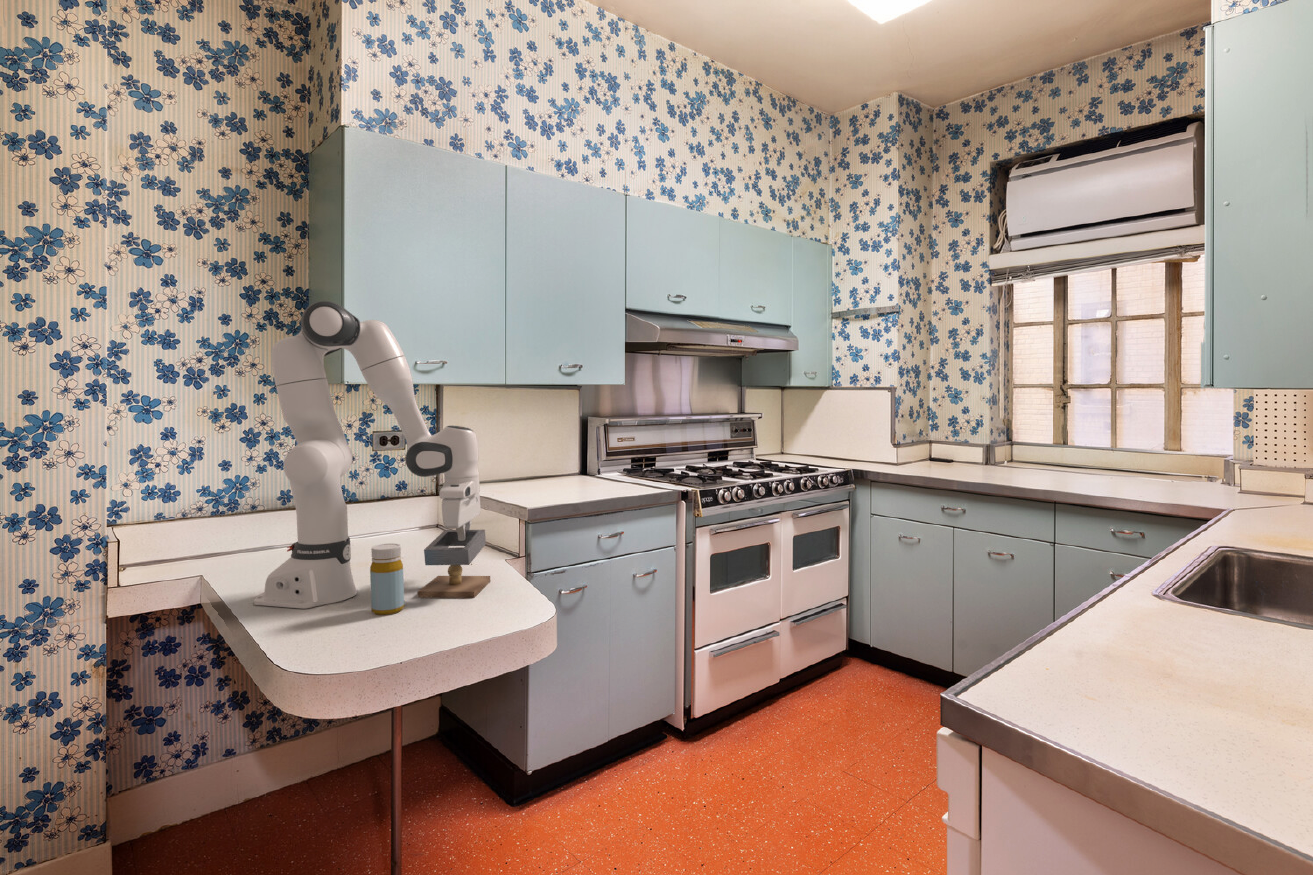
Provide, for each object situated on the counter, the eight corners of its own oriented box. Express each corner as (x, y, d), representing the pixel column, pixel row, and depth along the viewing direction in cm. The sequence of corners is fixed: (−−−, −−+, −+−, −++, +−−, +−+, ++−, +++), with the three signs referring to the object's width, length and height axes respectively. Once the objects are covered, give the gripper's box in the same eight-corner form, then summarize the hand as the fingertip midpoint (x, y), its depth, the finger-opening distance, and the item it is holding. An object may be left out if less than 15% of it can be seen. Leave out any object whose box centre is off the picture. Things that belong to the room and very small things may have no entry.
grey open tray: (425, 565, 160) (423, 549, 160) (445, 544, 175) (444, 530, 174) (469, 564, 160) (467, 549, 159) (485, 543, 175) (484, 529, 174)
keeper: (417, 597, 161) (417, 570, 160) (438, 581, 175) (437, 556, 174) (474, 597, 160) (473, 571, 160) (490, 581, 174) (489, 557, 174)
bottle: (392, 616, 147) (390, 550, 146) (364, 614, 148) (362, 549, 147) (410, 606, 154) (408, 543, 153) (383, 605, 155) (381, 542, 154)
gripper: (463, 481, 183) (464, 530, 184) (436, 492, 163) (438, 547, 164) (485, 481, 183) (487, 530, 184) (461, 492, 163) (463, 547, 164)
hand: (464, 538), depth 174 cm, fingers closed on grey open tray, 2 cm apart
